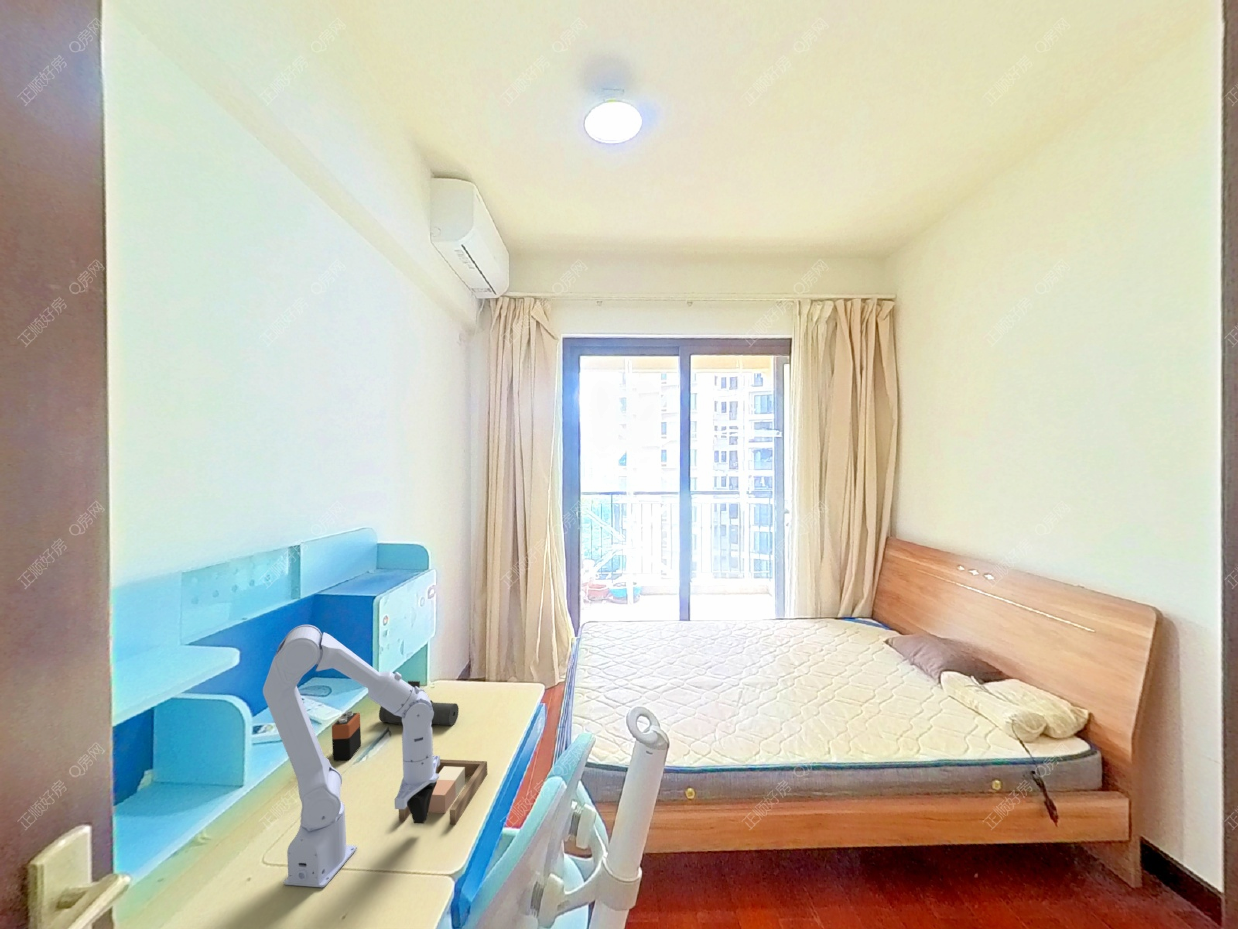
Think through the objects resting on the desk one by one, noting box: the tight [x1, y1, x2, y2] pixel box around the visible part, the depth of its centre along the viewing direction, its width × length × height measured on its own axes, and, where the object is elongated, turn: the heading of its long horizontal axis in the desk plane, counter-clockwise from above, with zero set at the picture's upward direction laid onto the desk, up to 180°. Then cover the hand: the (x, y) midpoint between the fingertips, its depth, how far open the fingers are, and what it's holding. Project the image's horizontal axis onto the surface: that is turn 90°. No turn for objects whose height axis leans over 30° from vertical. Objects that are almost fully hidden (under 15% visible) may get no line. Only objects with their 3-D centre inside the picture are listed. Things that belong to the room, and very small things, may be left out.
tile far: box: [438, 766, 466, 798], centre depth 118 cm, size 5×5×4 cm
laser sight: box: [378, 680, 460, 726], centre depth 150 cm, size 10×22×10 cm, turn 81°
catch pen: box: [398, 758, 488, 825], centre depth 116 cm, size 17×12×3 cm
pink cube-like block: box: [428, 780, 457, 814], centre depth 113 cm, size 5×5×4 cm
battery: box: [331, 710, 362, 762], centre depth 134 cm, size 4×7×10 cm, turn 2°
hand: (420, 821), depth 105 cm, fingers closed
